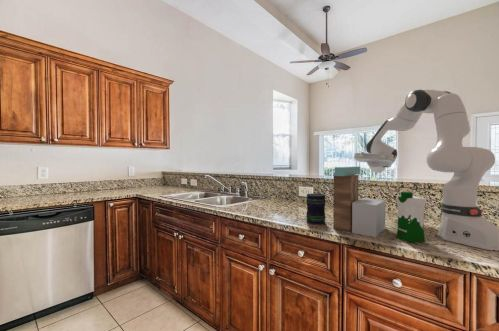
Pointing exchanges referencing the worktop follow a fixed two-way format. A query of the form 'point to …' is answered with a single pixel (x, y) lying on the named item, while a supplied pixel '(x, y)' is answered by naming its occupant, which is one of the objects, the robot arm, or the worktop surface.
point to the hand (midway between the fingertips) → (371, 153)
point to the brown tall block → (344, 201)
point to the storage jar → (315, 209)
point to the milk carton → (410, 217)
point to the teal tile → (346, 171)
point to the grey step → (368, 217)
